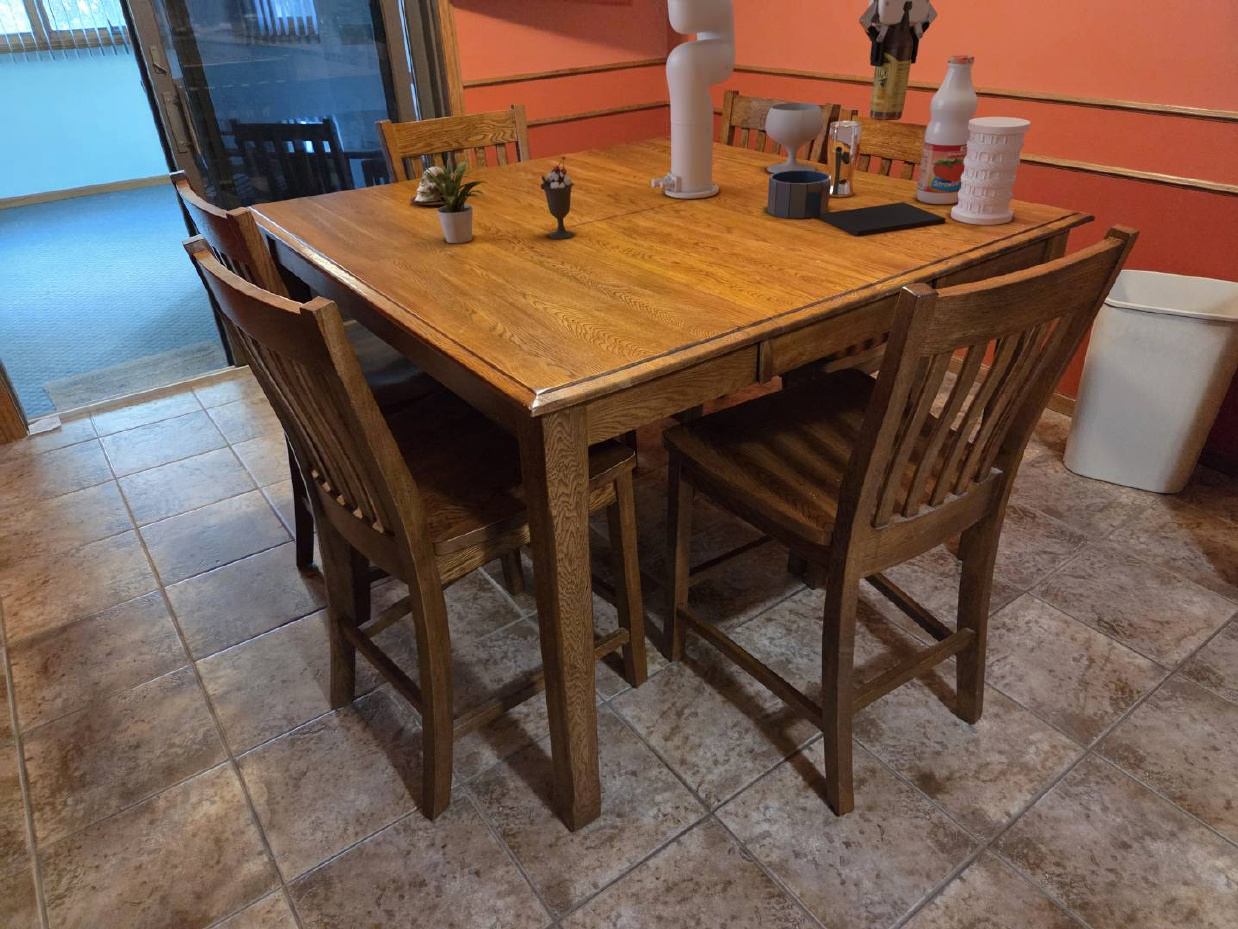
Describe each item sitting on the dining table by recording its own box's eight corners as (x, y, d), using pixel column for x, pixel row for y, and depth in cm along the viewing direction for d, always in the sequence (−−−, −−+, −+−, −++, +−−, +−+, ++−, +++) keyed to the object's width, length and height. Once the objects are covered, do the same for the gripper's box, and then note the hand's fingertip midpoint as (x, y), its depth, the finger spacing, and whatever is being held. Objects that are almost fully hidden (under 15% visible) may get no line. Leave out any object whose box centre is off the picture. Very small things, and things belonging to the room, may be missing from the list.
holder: (785, 221, 167) (787, 186, 164) (757, 207, 178) (759, 174, 174) (838, 213, 170) (842, 179, 167) (808, 200, 181) (811, 167, 177)
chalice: (824, 175, 200) (830, 109, 192) (767, 177, 200) (770, 112, 192) (813, 163, 212) (818, 101, 204) (759, 165, 212) (762, 103, 204)
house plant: (430, 256, 157) (415, 168, 149) (410, 238, 168) (396, 156, 159) (499, 243, 163) (489, 157, 154) (476, 227, 173) (465, 146, 164)
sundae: (582, 231, 167) (577, 155, 159) (570, 241, 162) (564, 162, 154) (553, 229, 169) (546, 154, 161) (540, 239, 164) (533, 161, 156)
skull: (429, 206, 185) (407, 168, 186) (418, 230, 194) (396, 193, 194) (473, 194, 192) (451, 157, 192) (460, 218, 201) (439, 182, 201)
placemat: (856, 236, 157) (857, 230, 156) (819, 218, 168) (819, 213, 168) (944, 223, 162) (945, 218, 161) (902, 206, 173) (903, 201, 173)
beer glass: (852, 189, 187) (859, 119, 179) (856, 197, 181) (864, 125, 173) (821, 190, 188) (827, 120, 180) (825, 198, 182) (831, 126, 174)
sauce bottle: (864, 116, 158) (877, -1, 148) (895, 115, 159) (910, -2, 148) (875, 122, 153) (890, 1, 142) (908, 120, 153) (925, -1, 142)
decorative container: (940, 218, 164) (956, 123, 155) (964, 206, 171) (981, 114, 162) (998, 228, 157) (1018, 129, 148) (1021, 214, 164) (1041, 119, 155)
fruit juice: (940, 192, 182) (963, 52, 167) (970, 201, 175) (997, 56, 160) (906, 197, 179) (926, 56, 164) (935, 207, 172) (960, 60, 157)
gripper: (935, -52, 146) (920, 59, 156) (851, -48, 142) (840, 66, 152) (962, -53, 140) (945, 62, 150) (875, -49, 136) (863, 70, 145)
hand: (892, 63), depth 151 cm, fingers closed on sauce bottle, 6 cm apart
